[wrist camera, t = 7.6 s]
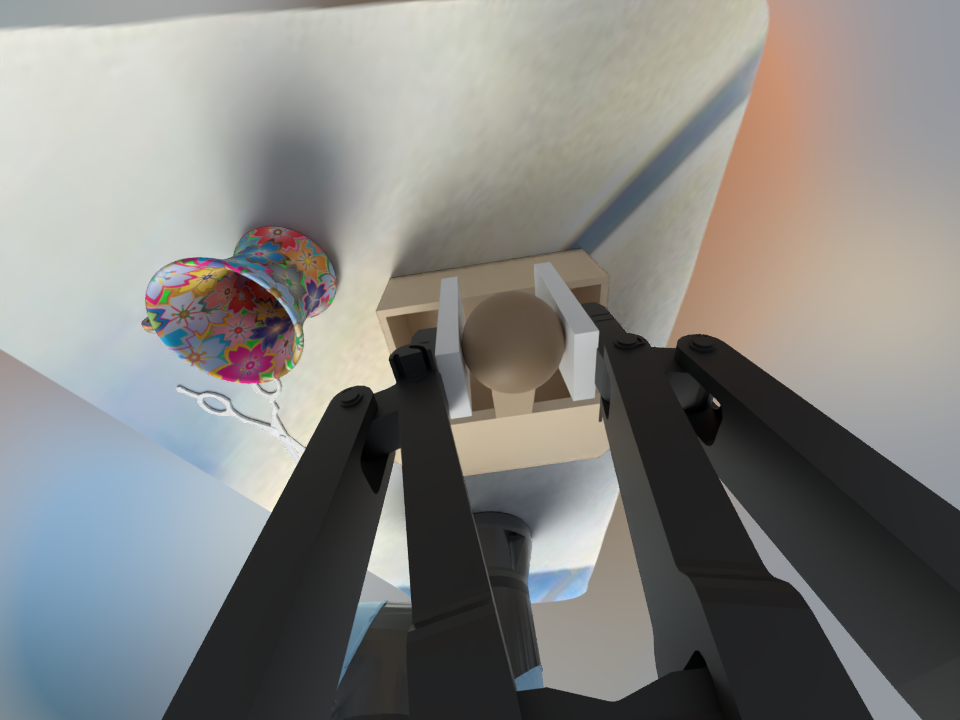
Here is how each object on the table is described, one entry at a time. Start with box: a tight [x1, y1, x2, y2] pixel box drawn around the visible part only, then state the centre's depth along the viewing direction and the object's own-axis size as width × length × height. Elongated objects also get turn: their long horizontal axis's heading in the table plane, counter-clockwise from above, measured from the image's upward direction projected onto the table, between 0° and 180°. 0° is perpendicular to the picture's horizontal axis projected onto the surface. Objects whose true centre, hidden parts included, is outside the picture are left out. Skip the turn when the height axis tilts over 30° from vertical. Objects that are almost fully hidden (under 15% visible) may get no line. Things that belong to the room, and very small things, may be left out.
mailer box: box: [376, 248, 610, 415], centre depth 35 cm, size 20×18×7 cm
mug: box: [141, 226, 336, 384], centre depth 27 cm, size 12×9×11 cm
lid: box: [394, 291, 610, 476], centre depth 24 cm, size 30×18×4 cm, turn 9°
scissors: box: [176, 379, 306, 464], centre depth 42 cm, size 11×1×20 cm
